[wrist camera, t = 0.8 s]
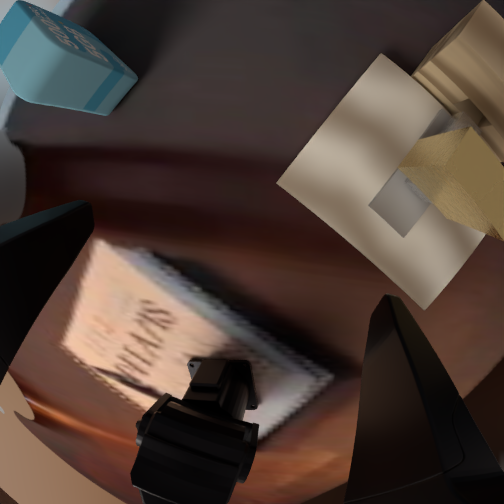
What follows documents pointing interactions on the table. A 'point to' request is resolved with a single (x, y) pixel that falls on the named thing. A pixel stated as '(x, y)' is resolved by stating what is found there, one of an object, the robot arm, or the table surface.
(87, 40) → the data package
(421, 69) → the door and jamb
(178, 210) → the table surface
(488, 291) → the table surface
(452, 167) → the bolt
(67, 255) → the robot arm
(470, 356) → the table surface
